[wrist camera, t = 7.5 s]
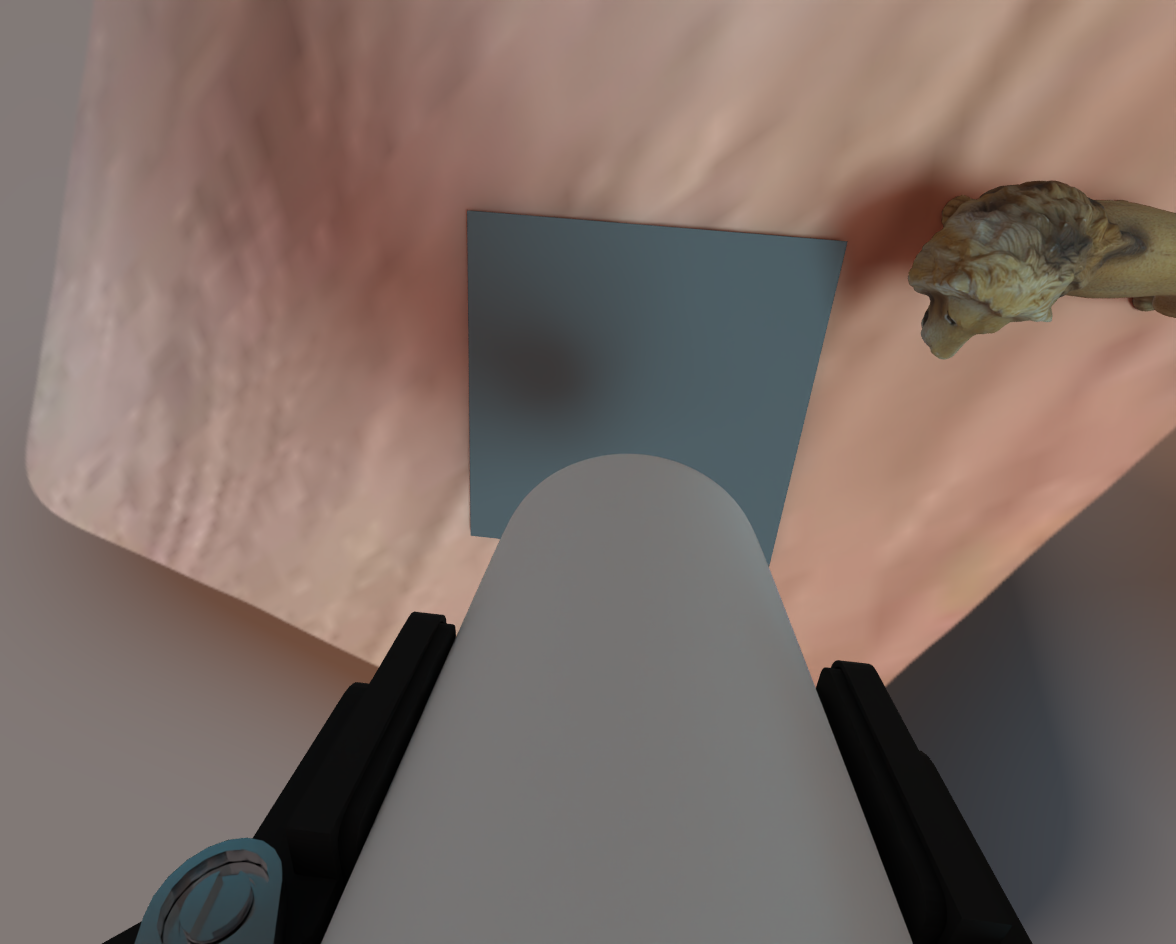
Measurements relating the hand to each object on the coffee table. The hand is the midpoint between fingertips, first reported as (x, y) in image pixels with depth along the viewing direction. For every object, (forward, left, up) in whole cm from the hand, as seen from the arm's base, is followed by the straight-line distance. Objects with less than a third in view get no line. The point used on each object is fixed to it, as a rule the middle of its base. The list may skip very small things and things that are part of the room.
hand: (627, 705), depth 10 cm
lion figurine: (-8, +15, -19) cm, 26 cm away
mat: (0, 0, -19) cm, 19 cm away
